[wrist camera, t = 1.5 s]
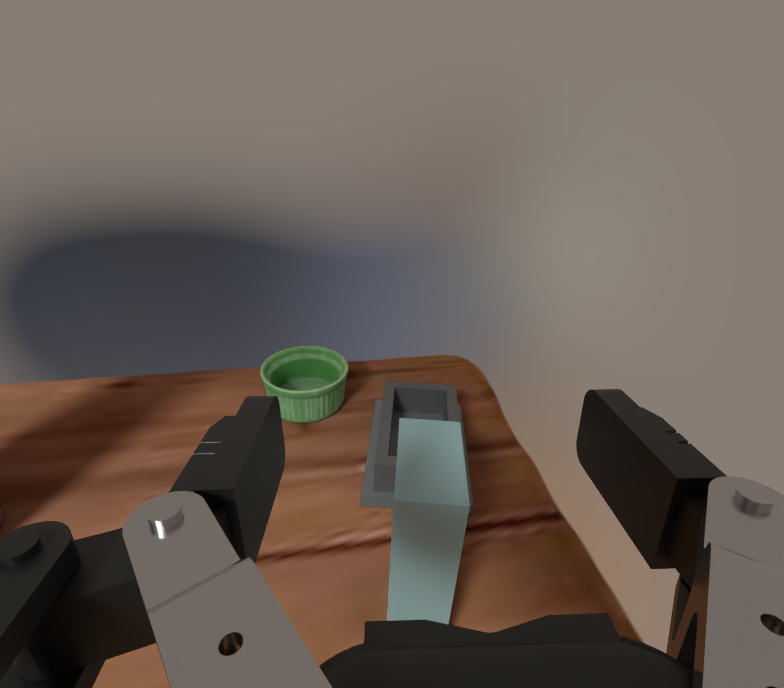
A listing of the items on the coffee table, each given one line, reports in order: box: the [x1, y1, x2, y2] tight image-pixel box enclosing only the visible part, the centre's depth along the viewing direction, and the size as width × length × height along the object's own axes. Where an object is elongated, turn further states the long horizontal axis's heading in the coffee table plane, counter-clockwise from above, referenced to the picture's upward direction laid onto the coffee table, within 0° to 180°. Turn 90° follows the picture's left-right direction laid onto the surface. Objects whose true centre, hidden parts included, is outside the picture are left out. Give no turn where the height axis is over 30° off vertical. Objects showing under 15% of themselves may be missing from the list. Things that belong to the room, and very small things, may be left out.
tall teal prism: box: [387, 418, 470, 624], centre depth 26 cm, size 4×6×13 cm, turn 177°
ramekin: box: [260, 346, 348, 423], centre depth 47 cm, size 9×9×4 cm
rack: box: [361, 381, 474, 514], centre depth 41 cm, size 9×13×4 cm
